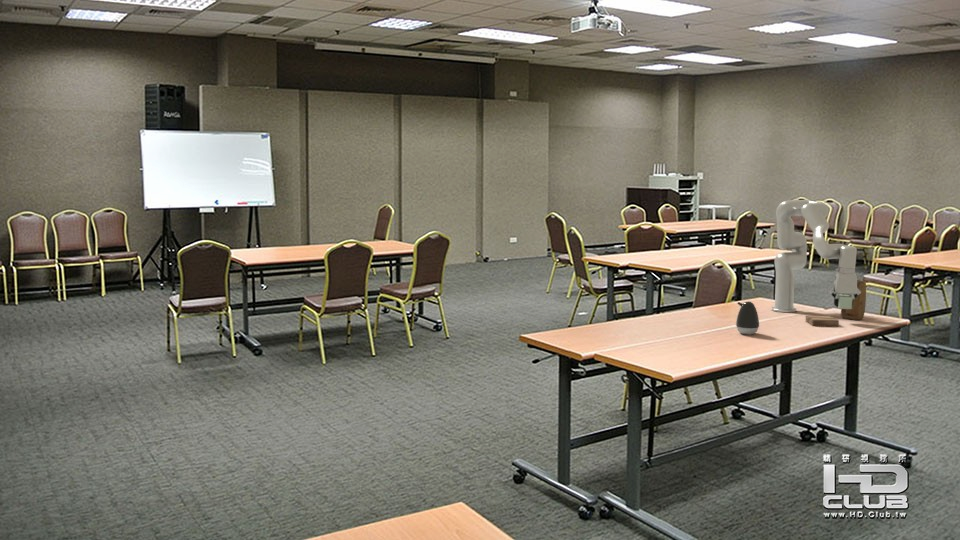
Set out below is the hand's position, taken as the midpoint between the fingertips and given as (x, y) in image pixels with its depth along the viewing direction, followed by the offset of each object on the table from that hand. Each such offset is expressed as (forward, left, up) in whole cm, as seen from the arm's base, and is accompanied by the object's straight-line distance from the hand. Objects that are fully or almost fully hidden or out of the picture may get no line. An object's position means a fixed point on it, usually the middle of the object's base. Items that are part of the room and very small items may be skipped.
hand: (843, 306), depth 396 cm
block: (-11, +9, -9) cm, 16 cm away
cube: (0, 0, -1) cm, 1 cm away
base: (+5, -11, -8) cm, 15 cm away
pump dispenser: (+32, -53, -9) cm, 63 cm away
